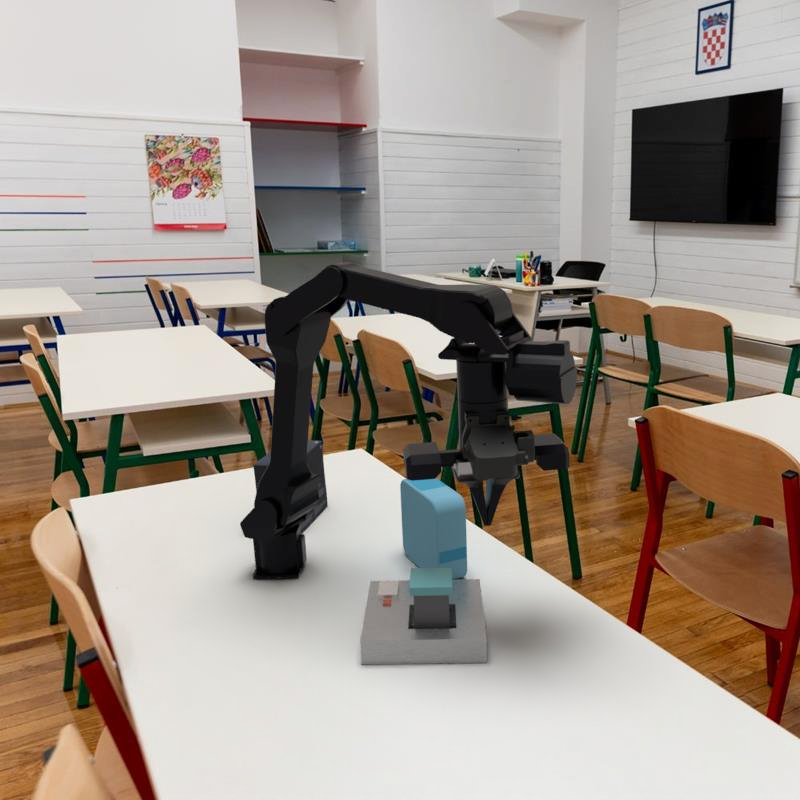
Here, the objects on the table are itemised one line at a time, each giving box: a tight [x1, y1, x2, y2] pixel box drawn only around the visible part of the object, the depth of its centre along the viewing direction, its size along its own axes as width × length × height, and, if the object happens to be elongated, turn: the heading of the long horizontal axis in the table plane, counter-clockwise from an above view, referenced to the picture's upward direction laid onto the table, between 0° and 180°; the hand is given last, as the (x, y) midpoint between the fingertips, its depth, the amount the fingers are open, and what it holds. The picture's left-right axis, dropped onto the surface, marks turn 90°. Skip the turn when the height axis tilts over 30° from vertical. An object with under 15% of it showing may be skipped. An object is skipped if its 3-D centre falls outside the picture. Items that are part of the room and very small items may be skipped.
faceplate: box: [359, 578, 488, 665], centre depth 93 cm, size 14×14×4 cm
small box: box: [252, 439, 329, 534], centre depth 127 cm, size 13×7×12 cm, turn 164°
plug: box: [409, 567, 452, 629], centre depth 90 cm, size 5×5×8 cm
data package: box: [399, 477, 468, 580], centre depth 108 cm, size 12×4×12 cm, turn 23°
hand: (486, 524), depth 92 cm, fingers closed
